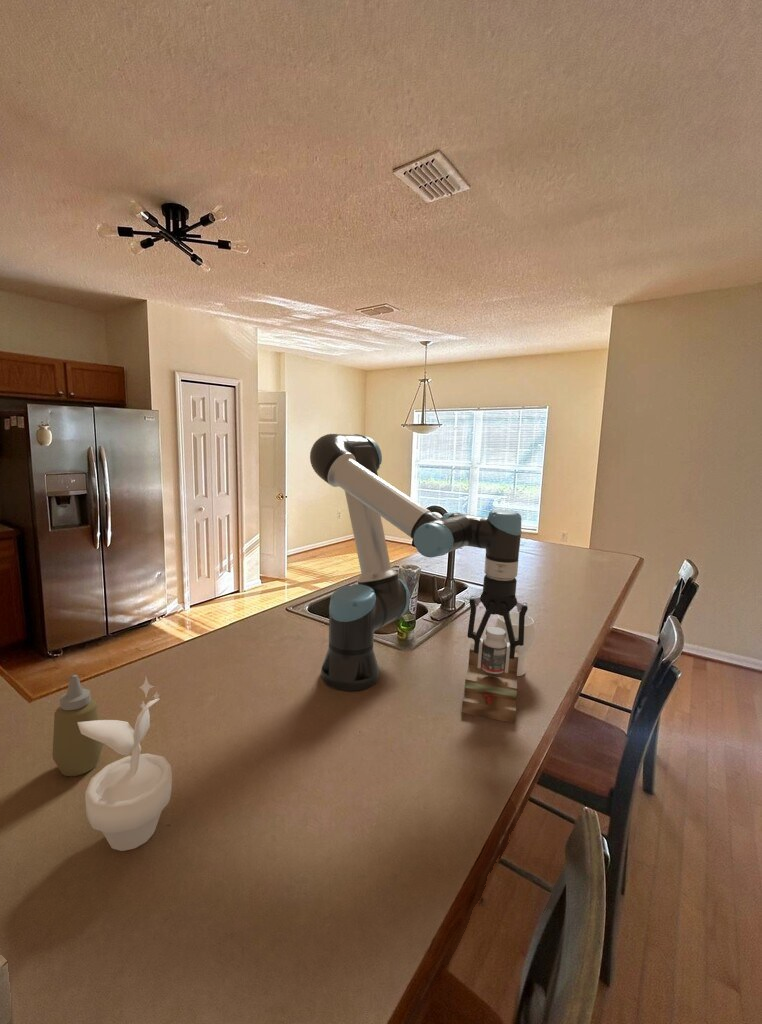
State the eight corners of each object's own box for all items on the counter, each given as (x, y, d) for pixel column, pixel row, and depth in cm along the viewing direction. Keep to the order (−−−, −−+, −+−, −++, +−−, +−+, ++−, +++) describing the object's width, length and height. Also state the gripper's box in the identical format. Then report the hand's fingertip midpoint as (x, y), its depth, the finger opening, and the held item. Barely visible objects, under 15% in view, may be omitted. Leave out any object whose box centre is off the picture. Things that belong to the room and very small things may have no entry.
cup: (533, 681, 123) (538, 628, 120) (492, 676, 125) (496, 623, 123) (528, 663, 133) (533, 613, 131) (491, 658, 135) (495, 609, 133)
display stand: (461, 712, 108) (464, 672, 106) (468, 678, 123) (470, 643, 121) (514, 723, 105) (518, 682, 103) (514, 687, 120) (518, 651, 118)
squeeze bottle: (95, 745, 91) (90, 661, 89) (112, 765, 86) (107, 676, 84) (47, 766, 85) (39, 676, 82) (62, 789, 80) (54, 694, 77)
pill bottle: (476, 664, 114) (479, 626, 113) (497, 662, 116) (500, 624, 114) (487, 675, 109) (491, 636, 107) (509, 673, 110) (512, 634, 109)
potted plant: (185, 805, 78) (180, 667, 74) (153, 869, 67) (146, 710, 62) (108, 804, 78) (100, 665, 73) (64, 868, 66) (50, 708, 62)
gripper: (458, 575, 108) (452, 668, 111) (543, 585, 103) (533, 682, 106) (462, 567, 115) (456, 654, 118) (541, 576, 110) (532, 667, 113)
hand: (492, 667), depth 112 cm, fingers closed on pill bottle, 6 cm apart
